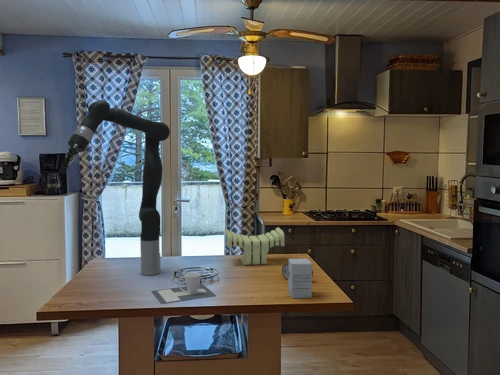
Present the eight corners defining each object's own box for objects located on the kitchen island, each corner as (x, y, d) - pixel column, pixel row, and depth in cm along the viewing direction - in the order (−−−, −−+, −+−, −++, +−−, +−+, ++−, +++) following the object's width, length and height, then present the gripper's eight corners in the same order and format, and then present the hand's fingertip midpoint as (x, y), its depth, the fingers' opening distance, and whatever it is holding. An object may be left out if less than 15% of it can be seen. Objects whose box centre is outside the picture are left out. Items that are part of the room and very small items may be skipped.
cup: (200, 295, 199) (200, 276, 198) (177, 295, 198) (177, 276, 198) (201, 289, 206) (201, 272, 205) (178, 290, 205) (178, 272, 205)
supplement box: (287, 291, 204) (288, 258, 203) (307, 291, 205) (308, 258, 204) (291, 298, 195) (291, 263, 194) (312, 298, 196) (312, 263, 195)
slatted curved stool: (228, 267, 244) (228, 233, 242) (225, 259, 260) (225, 228, 258) (284, 265, 248) (284, 232, 247) (278, 258, 264) (278, 227, 262)
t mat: (202, 284, 214) (202, 284, 214) (216, 296, 198) (216, 295, 198) (150, 291, 204) (150, 290, 204) (161, 304, 188) (161, 303, 188)
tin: (313, 281, 220) (313, 264, 219) (311, 283, 217) (311, 265, 216) (283, 277, 226) (283, 260, 225) (281, 279, 223) (281, 262, 222)
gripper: (91, 137, 194) (72, 169, 187) (87, 148, 206) (69, 179, 199) (74, 127, 192) (54, 159, 185) (71, 140, 204) (52, 170, 197)
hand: (62, 169), depth 192 cm, fingers open, 8 cm apart
